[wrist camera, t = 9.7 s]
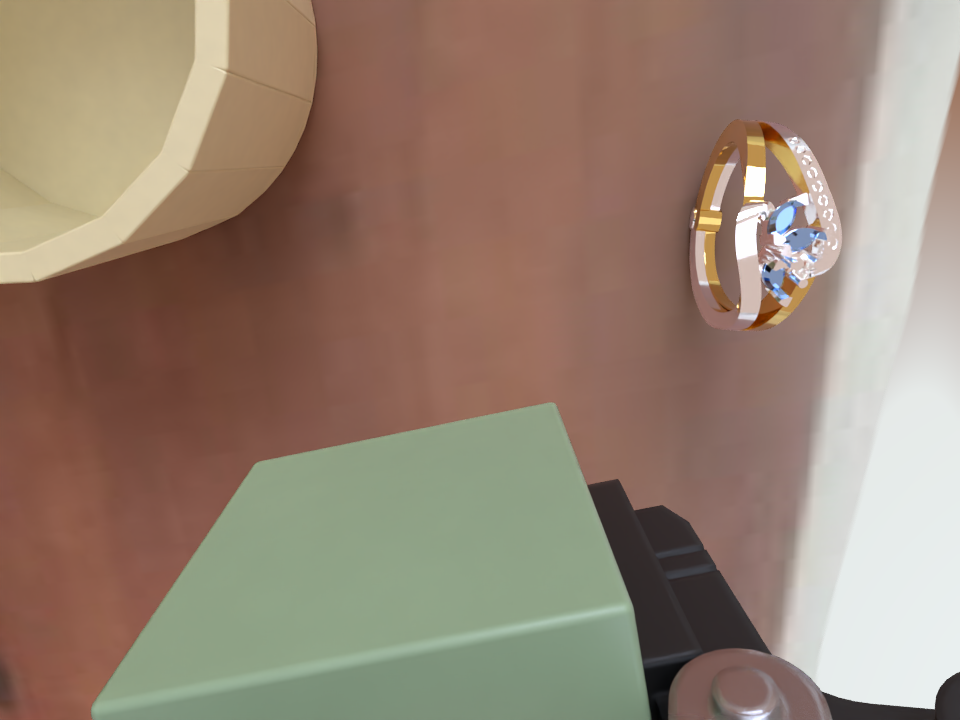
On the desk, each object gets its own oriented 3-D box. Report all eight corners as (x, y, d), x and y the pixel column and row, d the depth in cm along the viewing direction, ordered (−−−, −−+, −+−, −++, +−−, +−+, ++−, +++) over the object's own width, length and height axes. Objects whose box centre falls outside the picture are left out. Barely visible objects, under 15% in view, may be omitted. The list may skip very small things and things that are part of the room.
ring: (722, 307, 27) (825, 366, 19) (646, 301, 27) (720, 358, 19) (758, 130, 25) (889, 118, 17) (676, 122, 25) (771, 106, 17)
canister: (13, 277, 26) (-230, 343, 17) (-177, -150, 21) (-647, -376, 12) (364, 197, 25) (309, 219, 16) (242, -259, 21) (74, -580, 12)
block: (336, 698, 11) (254, 1054, 7) (253, 460, 9) (82, 710, 5) (601, 648, 11) (695, 978, 6) (555, 398, 9) (635, 605, 5)
